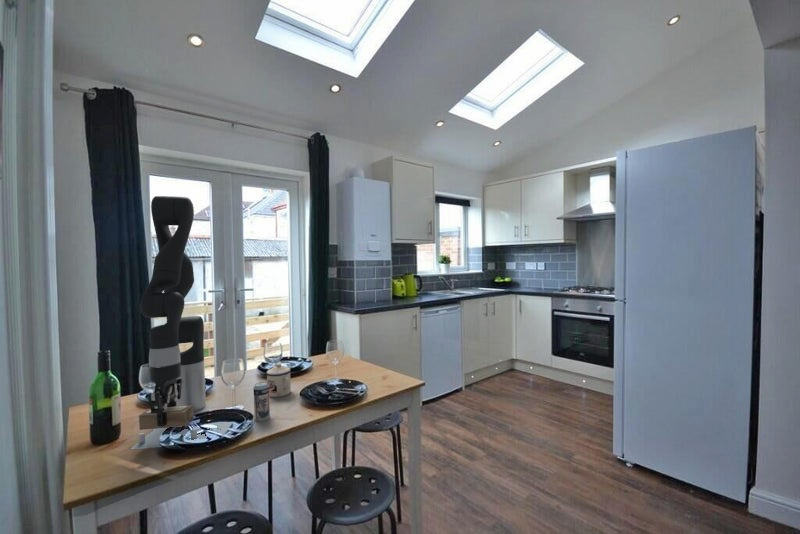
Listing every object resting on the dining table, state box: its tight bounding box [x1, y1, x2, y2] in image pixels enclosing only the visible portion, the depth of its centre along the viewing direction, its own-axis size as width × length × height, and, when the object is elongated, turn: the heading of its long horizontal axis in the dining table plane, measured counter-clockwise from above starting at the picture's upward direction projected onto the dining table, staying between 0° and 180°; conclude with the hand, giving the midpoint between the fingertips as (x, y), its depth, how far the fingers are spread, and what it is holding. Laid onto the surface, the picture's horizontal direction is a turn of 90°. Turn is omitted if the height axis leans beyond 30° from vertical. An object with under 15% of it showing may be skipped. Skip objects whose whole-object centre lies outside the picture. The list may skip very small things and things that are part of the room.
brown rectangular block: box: [138, 405, 194, 431], centre depth 103 cm, size 5×12×4 cm, turn 97°
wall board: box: [129, 421, 234, 451], centre depth 106 cm, size 13×23×4 cm, turn 97°
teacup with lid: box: [266, 363, 292, 398], centre depth 141 cm, size 12×9×12 cm
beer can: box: [253, 381, 271, 422], centre depth 117 cm, size 5×5×12 cm
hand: (167, 421), depth 103 cm, fingers closed on brown rectangular block, 5 cm apart
